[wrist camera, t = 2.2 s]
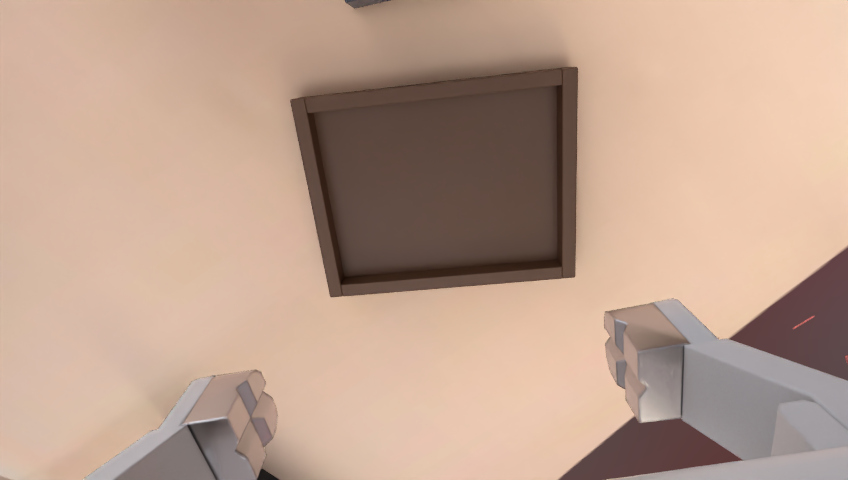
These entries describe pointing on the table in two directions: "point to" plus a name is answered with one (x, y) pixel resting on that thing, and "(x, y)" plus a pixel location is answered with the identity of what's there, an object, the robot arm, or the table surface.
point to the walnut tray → (444, 181)
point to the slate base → (363, 2)
